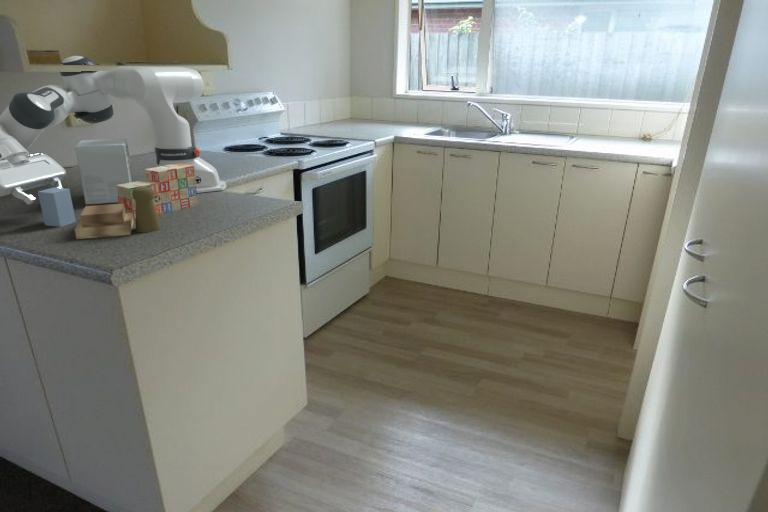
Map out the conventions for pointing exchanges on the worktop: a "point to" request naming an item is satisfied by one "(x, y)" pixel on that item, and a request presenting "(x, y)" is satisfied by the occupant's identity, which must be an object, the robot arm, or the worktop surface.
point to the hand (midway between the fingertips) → (48, 198)
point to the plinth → (105, 229)
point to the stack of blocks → (163, 189)
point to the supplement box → (103, 168)
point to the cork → (145, 210)
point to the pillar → (56, 206)
